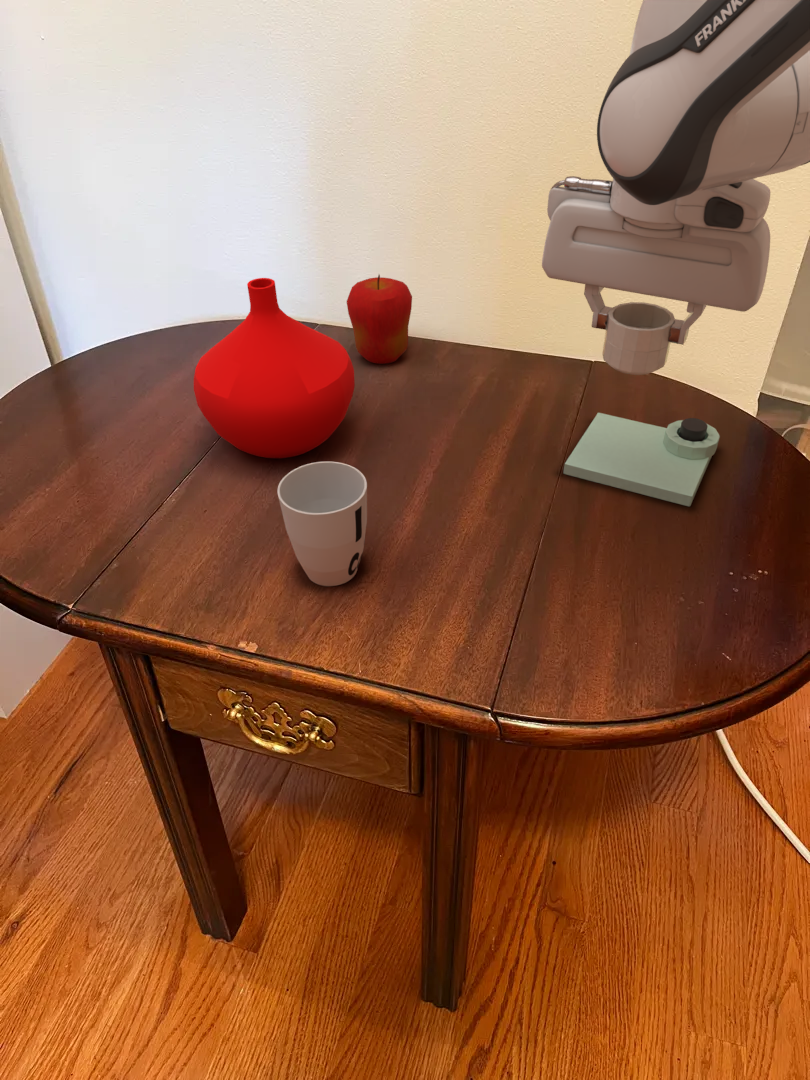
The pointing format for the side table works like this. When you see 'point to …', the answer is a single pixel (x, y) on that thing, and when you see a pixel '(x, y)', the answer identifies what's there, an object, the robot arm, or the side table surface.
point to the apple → (380, 318)
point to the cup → (325, 519)
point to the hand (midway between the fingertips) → (638, 333)
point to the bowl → (637, 337)
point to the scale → (642, 458)
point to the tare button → (693, 430)
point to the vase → (274, 381)
